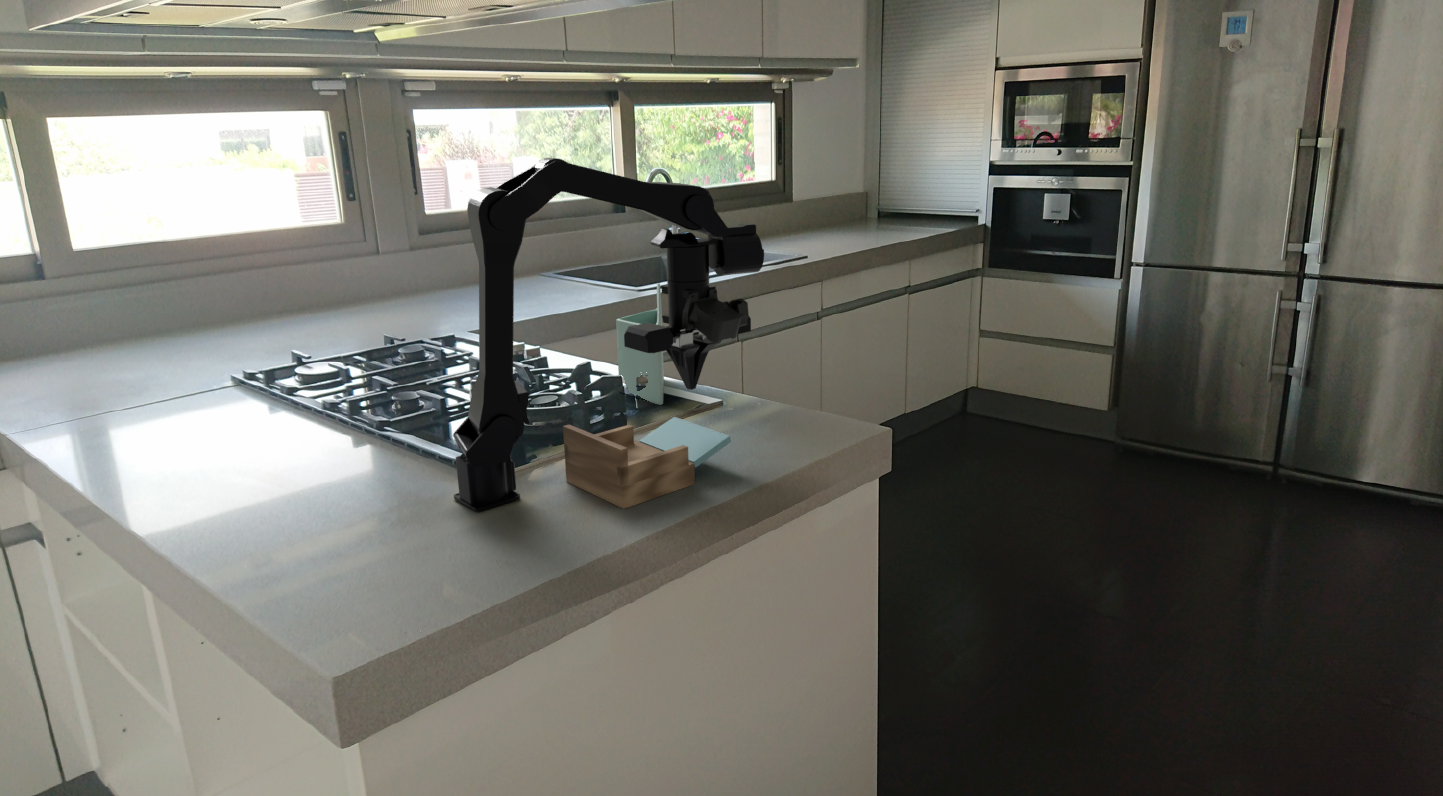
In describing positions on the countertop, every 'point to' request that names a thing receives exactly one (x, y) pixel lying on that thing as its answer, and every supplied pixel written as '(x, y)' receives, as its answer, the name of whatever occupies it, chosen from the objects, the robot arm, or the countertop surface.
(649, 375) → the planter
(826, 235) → the countertop surface
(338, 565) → the countertop surface
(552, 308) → the countertop surface
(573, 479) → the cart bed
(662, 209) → the robot arm
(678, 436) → the panel
